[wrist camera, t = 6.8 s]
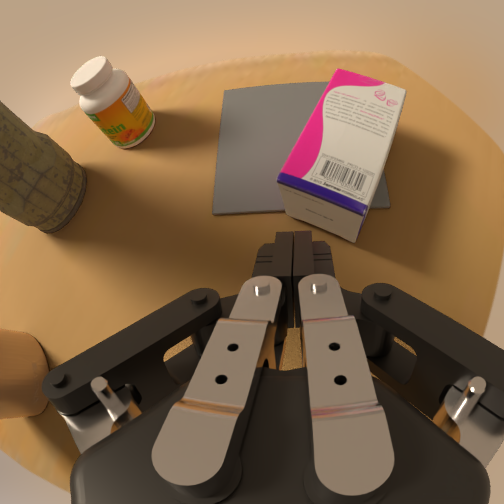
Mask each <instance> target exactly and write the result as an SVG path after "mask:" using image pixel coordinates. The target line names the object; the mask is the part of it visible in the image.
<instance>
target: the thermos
mask: <svg viewBox="0 0 504 504" xmlns="http://www.w3.org/2000/svg"><path fill="white" fill-rule="evenodd" d="M86 182H87V179H86V174H85V171H84V169H83V168H82V167H81V166H80V165H79V164H78V163H76V162H75V161H73V160H72V158H71V156H70V155H69V154H68V153H67V152H66V151H65V150H64V149H63V148H61V147H60V146H59V145H58V144H57V143H56V142H55V141H53V140H52V139H51V138H50V137H49V136H48V135H46V134H43V133H39V132H36V131H33V130H32V129H31V128H30V127H29V126H28V125H27V124H25V123H24V122H23V121H22V120H21V119H20V118H18V117H17V116H16V115H15V114H14V113H13V112H12V111H10V110H9V109H8V108H7V107H6V106H5V105H4V104H3V103H2V102H1V101H0V211H1V212H3V213H5V214H6V215H8V216H10V217H12V218H14V219H16V220H18V221H20V222H22V223H23V224H25V225H27V226H34V227H36V228H38V229H39V230H40V231H42V232H45V233H53V232H55V231H58V230H60V229H61V228H62V227H64V226H65V225H66V224H67V223H68V222H69V221H70V220H71V218H72V217H73V216H74V215H75V213H76V212H77V210H78V208H79V206H80V204H81V203H82V200H83V197H84V194H85V191H86Z"/></svg>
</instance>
